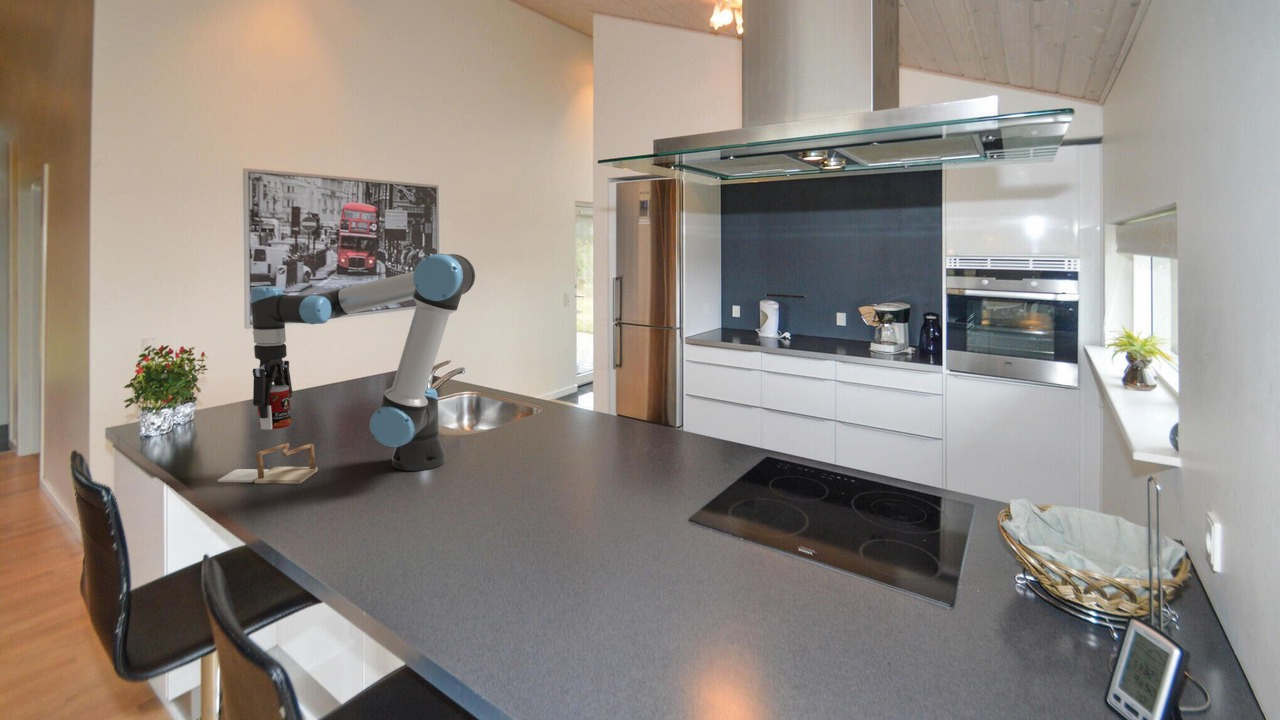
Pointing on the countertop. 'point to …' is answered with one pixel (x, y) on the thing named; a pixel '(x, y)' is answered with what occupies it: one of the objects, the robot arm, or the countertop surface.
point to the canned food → (279, 406)
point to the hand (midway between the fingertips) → (275, 424)
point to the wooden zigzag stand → (285, 473)
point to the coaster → (241, 475)
